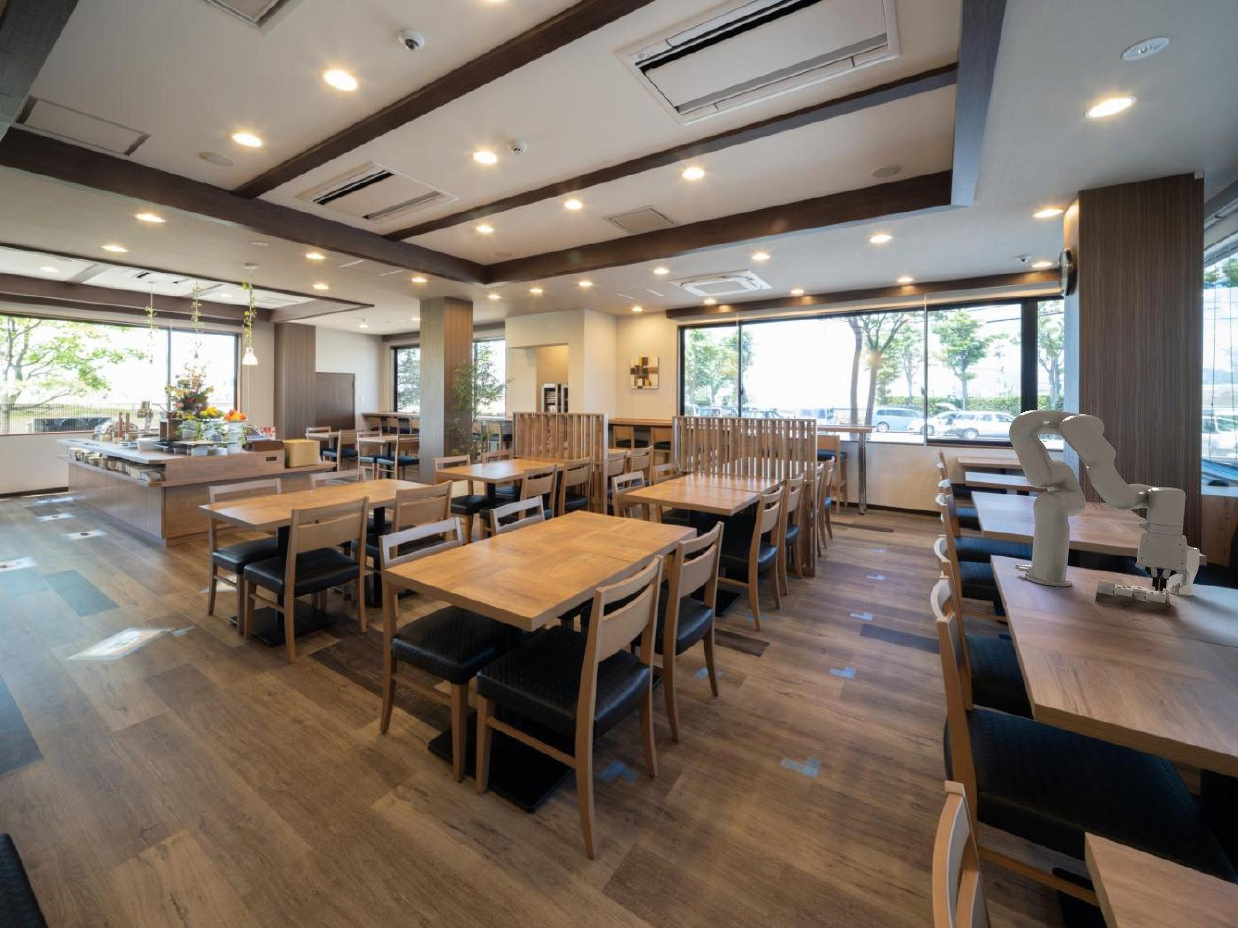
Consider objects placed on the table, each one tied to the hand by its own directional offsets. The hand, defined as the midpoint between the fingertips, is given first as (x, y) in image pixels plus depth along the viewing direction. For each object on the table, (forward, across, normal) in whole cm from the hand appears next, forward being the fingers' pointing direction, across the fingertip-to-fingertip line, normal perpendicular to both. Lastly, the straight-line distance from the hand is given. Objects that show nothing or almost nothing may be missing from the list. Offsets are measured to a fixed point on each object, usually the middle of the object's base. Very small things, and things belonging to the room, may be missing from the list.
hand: (1158, 589), depth 156 cm
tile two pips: (+4, -1, 0) cm, 4 cm away
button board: (+6, -6, +3) cm, 9 cm away
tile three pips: (+4, -8, 0) cm, 9 cm away
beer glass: (+6, +5, +24) cm, 26 cm away
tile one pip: (+5, -4, +7) cm, 10 cm away
